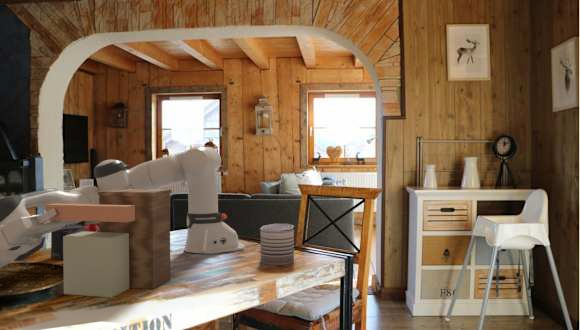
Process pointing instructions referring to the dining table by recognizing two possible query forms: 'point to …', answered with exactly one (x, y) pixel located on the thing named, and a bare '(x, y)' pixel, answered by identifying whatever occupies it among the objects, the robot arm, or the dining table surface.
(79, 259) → the low block
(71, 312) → the dining table surface
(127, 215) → the rail
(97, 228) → the soda can
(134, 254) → the tall stand
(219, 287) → the dining table surface
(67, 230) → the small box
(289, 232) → the can
